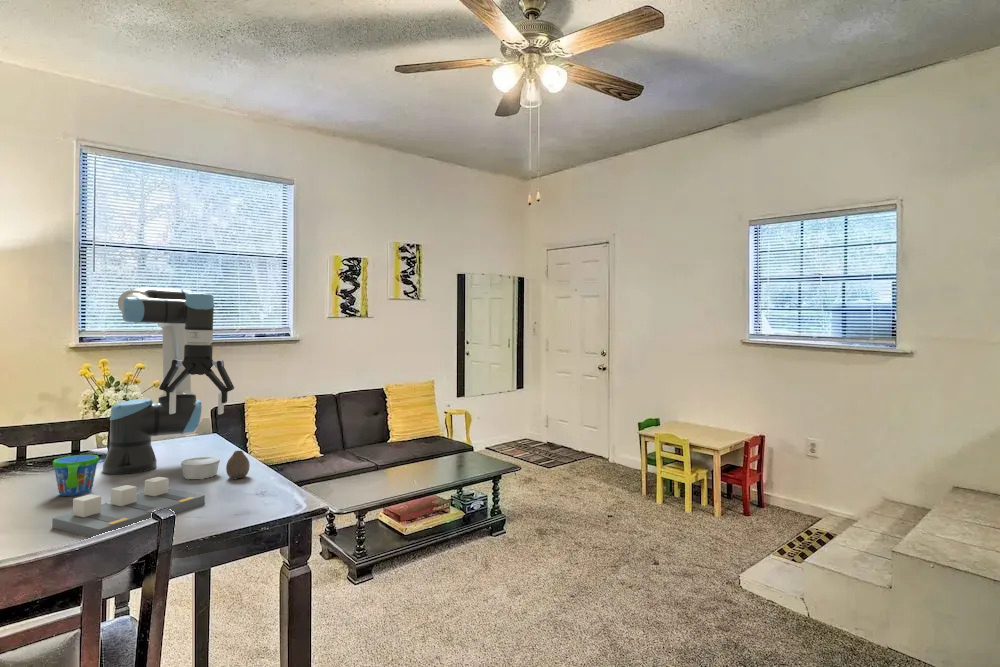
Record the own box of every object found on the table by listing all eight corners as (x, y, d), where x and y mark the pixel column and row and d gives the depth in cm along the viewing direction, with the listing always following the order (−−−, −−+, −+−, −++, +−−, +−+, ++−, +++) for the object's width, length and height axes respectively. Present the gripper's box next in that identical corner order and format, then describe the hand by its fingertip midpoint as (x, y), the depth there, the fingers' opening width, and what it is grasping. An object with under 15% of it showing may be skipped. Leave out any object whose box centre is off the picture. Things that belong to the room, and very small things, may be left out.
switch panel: (52, 527, 129) (52, 517, 129) (161, 495, 155) (162, 486, 155) (98, 539, 123) (99, 528, 123) (204, 503, 149) (204, 494, 149)
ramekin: (213, 470, 183) (213, 454, 183) (224, 477, 175) (224, 461, 175) (176, 475, 176) (176, 459, 175) (185, 483, 168) (186, 466, 168)
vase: (231, 474, 178) (231, 448, 178) (252, 474, 179) (253, 448, 179) (222, 480, 171) (222, 453, 171) (244, 480, 172) (245, 453, 172)
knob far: (144, 494, 148) (144, 480, 148) (158, 490, 151) (158, 476, 151) (154, 496, 146) (154, 482, 146) (168, 492, 150) (168, 478, 150)
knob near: (72, 514, 131) (73, 498, 131) (90, 509, 134) (90, 494, 134) (83, 517, 129) (83, 501, 129) (100, 512, 133) (101, 496, 133)
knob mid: (110, 504, 139) (111, 488, 139) (126, 499, 143) (126, 484, 143) (121, 506, 138) (121, 490, 138) (136, 501, 141) (136, 486, 141)
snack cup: (61, 487, 160) (61, 453, 160) (103, 483, 164) (104, 451, 164) (43, 503, 146) (44, 466, 146) (91, 499, 150) (91, 463, 150)
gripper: (147, 343, 155) (145, 415, 156) (238, 345, 160) (236, 416, 160) (159, 342, 163) (157, 411, 163) (246, 344, 167) (244, 411, 167)
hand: (196, 413), depth 161 cm, fingers open, 13 cm apart
